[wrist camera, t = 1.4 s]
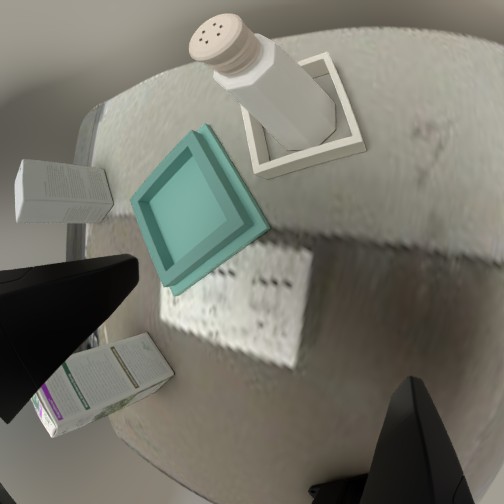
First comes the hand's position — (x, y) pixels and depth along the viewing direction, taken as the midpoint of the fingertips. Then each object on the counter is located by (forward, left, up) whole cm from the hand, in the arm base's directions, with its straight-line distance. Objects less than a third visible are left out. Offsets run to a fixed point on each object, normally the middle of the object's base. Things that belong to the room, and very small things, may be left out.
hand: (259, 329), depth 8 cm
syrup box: (+3, +22, -12) cm, 26 cm away
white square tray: (+11, -5, -12) cm, 16 cm away
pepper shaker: (+11, -5, -12) cm, 17 cm away
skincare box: (+24, +18, -12) cm, 32 cm away
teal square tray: (+12, +7, -12) cm, 18 cm away
